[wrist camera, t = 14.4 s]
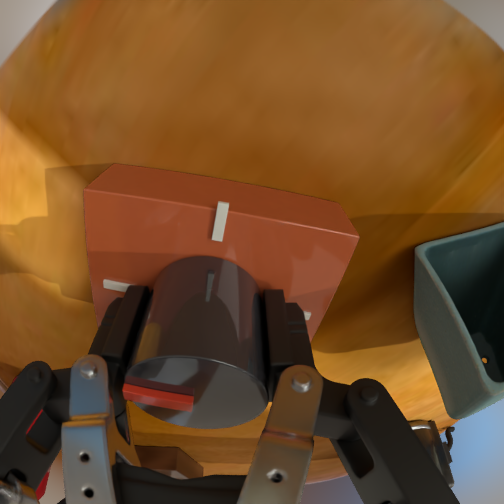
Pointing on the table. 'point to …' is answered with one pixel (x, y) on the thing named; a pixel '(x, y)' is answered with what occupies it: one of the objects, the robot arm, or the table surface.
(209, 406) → the dark glossy cylinder
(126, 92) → the table surface
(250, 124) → the table surface
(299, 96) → the table surface
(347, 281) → the table surface
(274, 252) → the rotary dial switch
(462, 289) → the flower pot
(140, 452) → the dial knob base block
